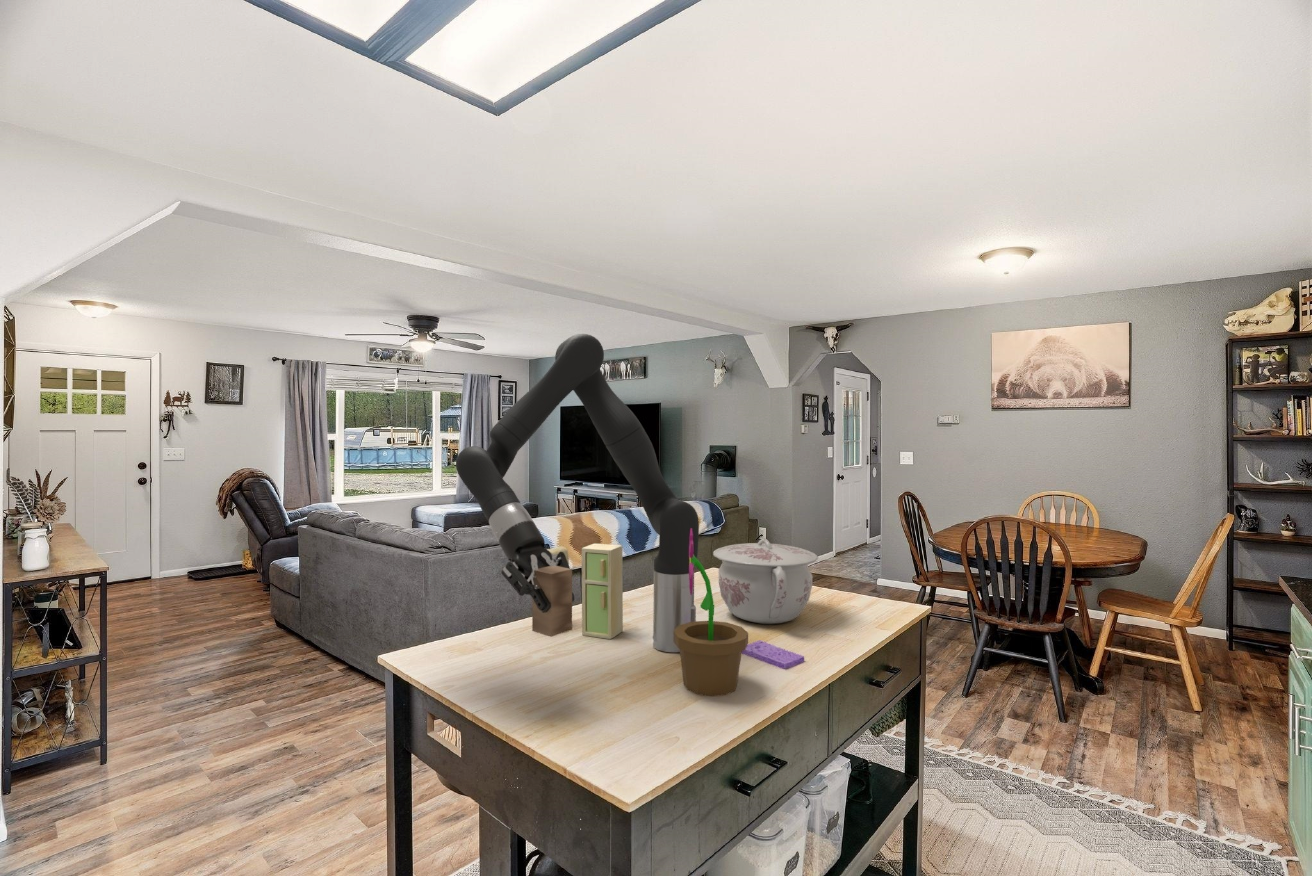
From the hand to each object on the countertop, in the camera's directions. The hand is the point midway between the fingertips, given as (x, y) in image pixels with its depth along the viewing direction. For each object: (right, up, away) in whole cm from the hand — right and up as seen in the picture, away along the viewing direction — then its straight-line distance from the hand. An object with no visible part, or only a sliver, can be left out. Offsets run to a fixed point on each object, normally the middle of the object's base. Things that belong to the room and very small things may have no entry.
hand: (559, 606), depth 111 cm
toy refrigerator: (+4, -17, +38) cm, 42 cm away
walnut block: (-1, -5, +1) cm, 5 cm away
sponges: (+42, -18, +24) cm, 52 cm away
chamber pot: (+46, -17, +53) cm, 72 cm away
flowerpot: (+28, -18, +9) cm, 34 cm away
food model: (-8, -17, +43) cm, 47 cm away
